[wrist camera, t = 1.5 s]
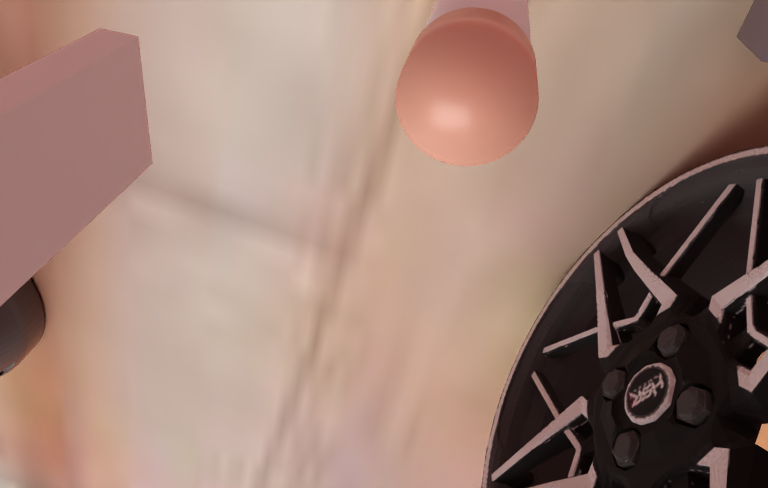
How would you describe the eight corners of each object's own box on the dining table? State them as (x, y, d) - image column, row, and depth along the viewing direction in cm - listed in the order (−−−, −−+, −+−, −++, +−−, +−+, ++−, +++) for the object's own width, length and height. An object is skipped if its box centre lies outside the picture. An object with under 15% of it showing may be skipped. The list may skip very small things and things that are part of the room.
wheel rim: (778, 61, 23) (1347, 587, 7) (943, 176, 25) (1719, 826, 9) (488, 344, 35) (465, 784, 19) (611, 411, 36) (686, 873, 21)
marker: (436, 22, 25) (386, 150, 15) (453, -67, 23) (407, 16, 13) (515, 38, 25) (515, 178, 15) (540, -51, 23) (558, 47, 13)
